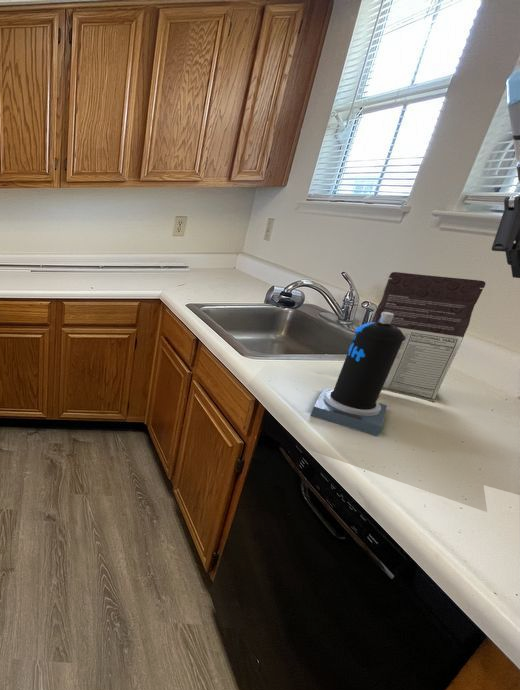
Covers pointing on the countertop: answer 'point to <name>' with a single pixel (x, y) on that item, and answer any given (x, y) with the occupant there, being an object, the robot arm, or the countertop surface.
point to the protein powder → (426, 327)
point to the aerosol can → (368, 363)
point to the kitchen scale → (349, 414)
